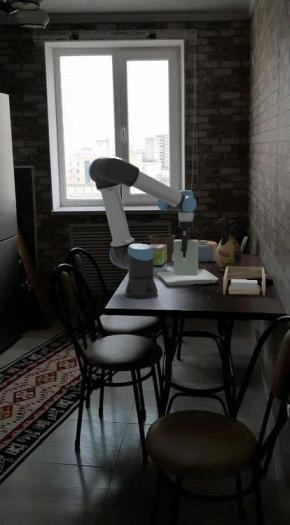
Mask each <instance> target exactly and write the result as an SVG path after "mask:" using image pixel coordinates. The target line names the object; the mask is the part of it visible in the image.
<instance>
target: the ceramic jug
mask: <svg viewBox="0 0 290 525" xmlns="http://www.w3.org/2000/svg"><path fill="white" fill-rule="evenodd" d="M223 223H225V225H224V226H223ZM236 226H238V223H237V221H235V220H234V219H233V220H228V219H227V217H226V218H225V217H222V218H220V219H219V221H218V229H219V233H220V235H221V239H220V241H219V243H217V249H216V253H215V260H216V261H215V263H216V264H217V265H218V266H219V268H220V270H221V272H225V270H226V267H240V265H241V263H242V261H243V253H242V252H243V251H242V247H241V246H240V244H239V243H238V241H237V239H236V237H234V236H233V233H232V229H233V228H235V227H236Z"/></svg>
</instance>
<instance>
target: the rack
mask: <svg viewBox="0 0 290 525" xmlns="http://www.w3.org/2000/svg"><path fill="white" fill-rule="evenodd" d="M245 277H262V281H261V289H262V291H261V292H262V296H266V274H265V267H264V266H239V267H226V270H225V271H224V276H223V278H222V280H223V282H222V286H223V287H222V291H223V292H222V294H223V295H226V293H227V288H228V284H229V283H228V282H229V281H231V279H243V278H245Z"/></svg>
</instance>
